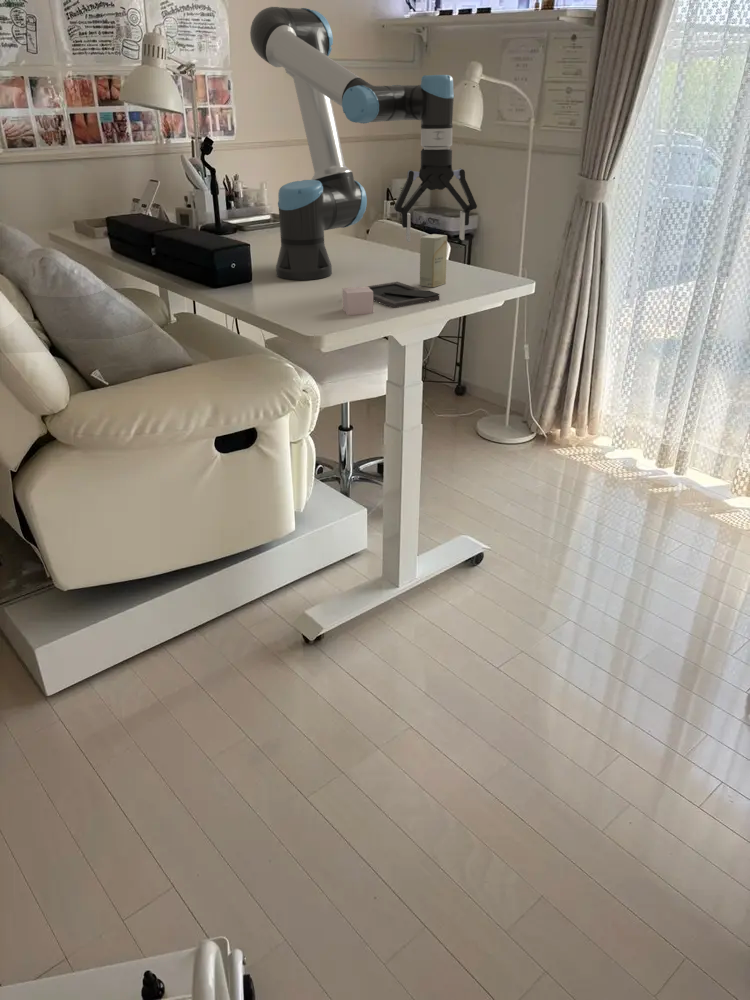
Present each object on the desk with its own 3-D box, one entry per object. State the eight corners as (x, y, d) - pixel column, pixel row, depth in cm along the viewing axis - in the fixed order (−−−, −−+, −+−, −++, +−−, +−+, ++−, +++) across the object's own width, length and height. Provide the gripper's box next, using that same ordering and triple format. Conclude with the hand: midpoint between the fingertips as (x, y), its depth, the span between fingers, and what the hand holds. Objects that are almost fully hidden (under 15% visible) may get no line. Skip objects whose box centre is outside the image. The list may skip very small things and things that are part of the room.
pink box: (347, 315, 179) (347, 293, 176) (342, 309, 183) (342, 288, 180) (373, 313, 180) (373, 291, 178) (367, 308, 184) (367, 286, 182)
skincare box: (433, 288, 200) (434, 238, 195) (418, 285, 203) (419, 236, 197) (446, 283, 205) (448, 234, 199) (432, 281, 207) (433, 233, 202)
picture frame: (439, 302, 190) (397, 287, 204) (439, 294, 189) (397, 279, 203) (393, 310, 184) (353, 294, 197) (393, 301, 183) (353, 286, 196)
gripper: (386, 150, 184) (387, 244, 194) (491, 147, 186) (487, 240, 196) (383, 148, 191) (384, 239, 201) (484, 145, 193) (480, 235, 203)
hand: (435, 240), depth 198 cm, fingers open, 13 cm apart
